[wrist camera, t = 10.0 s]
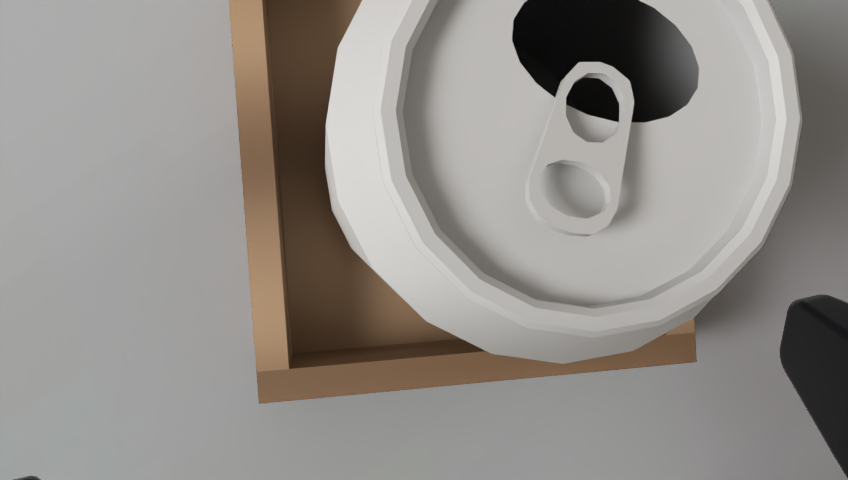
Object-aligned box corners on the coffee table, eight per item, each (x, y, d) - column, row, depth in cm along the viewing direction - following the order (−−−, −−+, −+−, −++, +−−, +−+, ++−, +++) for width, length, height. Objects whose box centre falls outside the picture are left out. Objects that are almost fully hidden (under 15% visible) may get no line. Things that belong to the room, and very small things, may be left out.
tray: (651, 344, 24) (696, 362, 21) (267, 379, 23) (258, 403, 20) (628, -36, 24) (671, -74, 21) (237, -26, 22) (224, -63, 19)
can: (614, 90, 23) (919, -49, 11) (536, 332, 23) (763, 450, 11) (372, 2, 22) (427, -251, 10) (290, 254, 22) (250, 292, 10)
